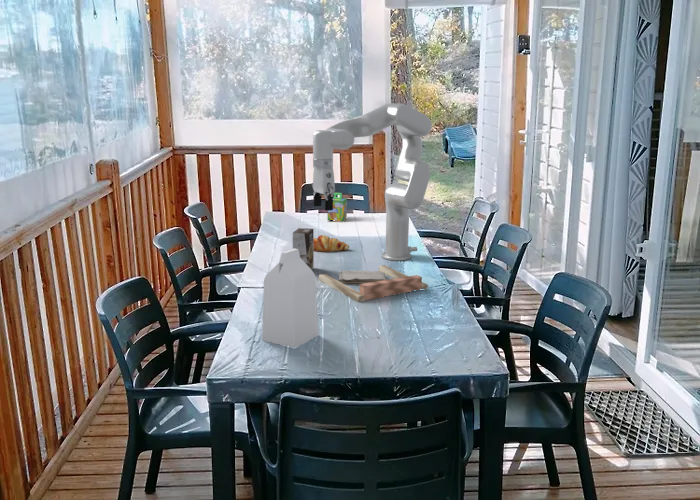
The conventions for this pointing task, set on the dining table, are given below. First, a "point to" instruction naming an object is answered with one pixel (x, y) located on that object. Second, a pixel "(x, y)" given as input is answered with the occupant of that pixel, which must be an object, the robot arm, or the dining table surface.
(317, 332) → the milk
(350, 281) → the washcloth
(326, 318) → the dining table surface
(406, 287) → the wooden frame
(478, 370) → the dining table surface
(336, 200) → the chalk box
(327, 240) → the croissant
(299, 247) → the coffee box
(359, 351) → the dining table surface
